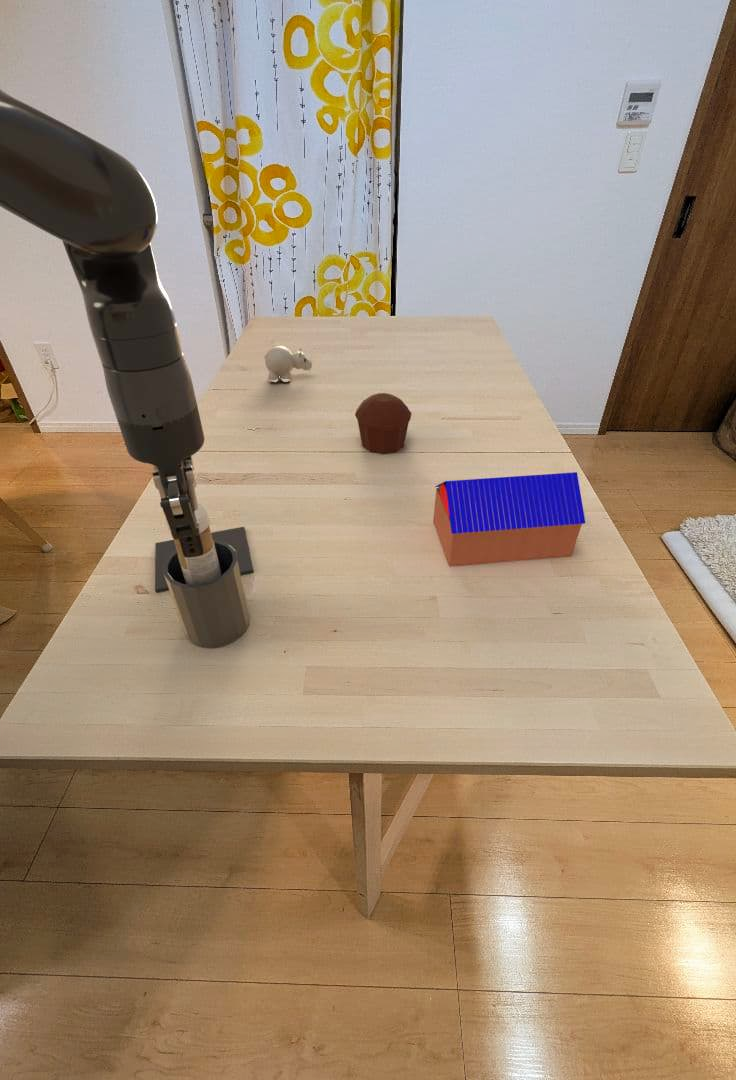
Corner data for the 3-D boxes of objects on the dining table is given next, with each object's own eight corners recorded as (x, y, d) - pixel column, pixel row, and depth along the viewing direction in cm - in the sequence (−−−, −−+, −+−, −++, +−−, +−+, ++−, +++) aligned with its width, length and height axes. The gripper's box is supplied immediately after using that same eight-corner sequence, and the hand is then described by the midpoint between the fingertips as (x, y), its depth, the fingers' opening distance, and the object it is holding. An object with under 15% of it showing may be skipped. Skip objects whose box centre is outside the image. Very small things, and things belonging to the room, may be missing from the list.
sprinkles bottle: (190, 587, 68) (165, 503, 59) (226, 581, 69) (206, 497, 60) (190, 612, 64) (163, 526, 56) (227, 605, 65) (206, 520, 57)
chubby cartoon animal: (314, 383, 132) (312, 350, 126) (266, 386, 131) (262, 352, 125) (313, 373, 137) (311, 340, 132) (267, 375, 136) (263, 342, 131)
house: (574, 557, 80) (595, 494, 72) (447, 567, 78) (455, 505, 71) (545, 511, 89) (560, 451, 82) (430, 520, 87) (436, 459, 80)
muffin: (417, 453, 105) (420, 406, 98) (365, 461, 102) (364, 414, 96) (398, 426, 113) (400, 382, 107) (349, 433, 111) (348, 389, 105)
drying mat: (155, 592, 74) (154, 589, 74) (156, 545, 82) (155, 542, 82) (253, 572, 78) (253, 569, 77) (244, 529, 86) (244, 526, 85)
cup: (185, 655, 66) (163, 594, 59) (183, 607, 72) (163, 547, 65) (253, 639, 68) (240, 578, 61) (245, 594, 74) (232, 534, 67)
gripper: (118, 380, 54) (159, 511, 65) (108, 444, 44) (159, 588, 55) (192, 372, 56) (220, 501, 67) (200, 432, 45) (232, 574, 56)
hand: (193, 540), depth 61 cm, fingers closed on sprinkles bottle, 4 cm apart
